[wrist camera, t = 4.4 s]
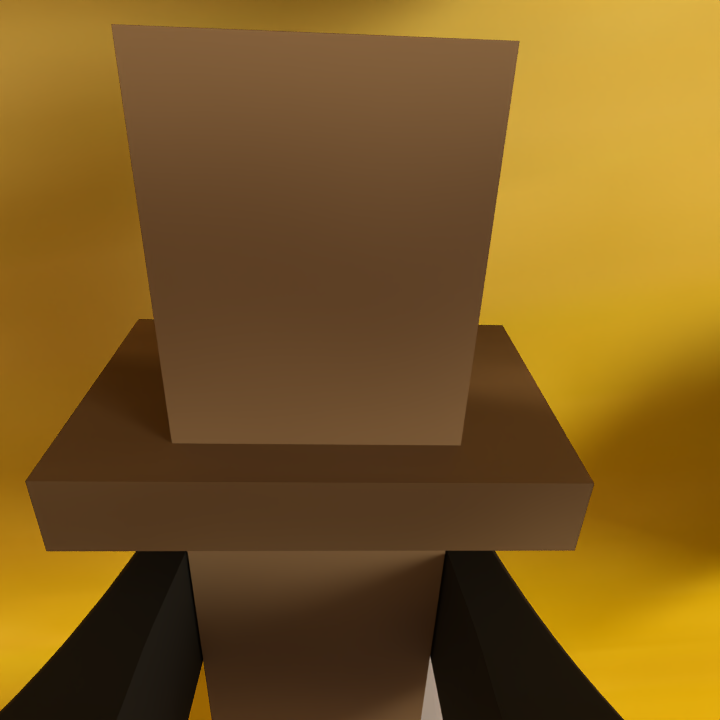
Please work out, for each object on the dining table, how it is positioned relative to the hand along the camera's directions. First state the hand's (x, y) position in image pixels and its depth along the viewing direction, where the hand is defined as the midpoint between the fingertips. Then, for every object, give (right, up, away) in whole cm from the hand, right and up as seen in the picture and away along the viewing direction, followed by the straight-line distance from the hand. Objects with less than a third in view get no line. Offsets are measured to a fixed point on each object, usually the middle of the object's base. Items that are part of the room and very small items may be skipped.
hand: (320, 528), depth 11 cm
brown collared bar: (0, +3, +1) cm, 4 cm away
